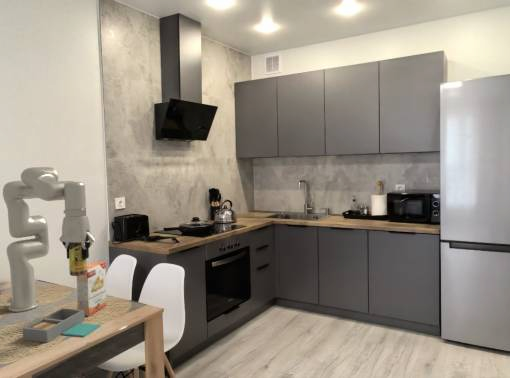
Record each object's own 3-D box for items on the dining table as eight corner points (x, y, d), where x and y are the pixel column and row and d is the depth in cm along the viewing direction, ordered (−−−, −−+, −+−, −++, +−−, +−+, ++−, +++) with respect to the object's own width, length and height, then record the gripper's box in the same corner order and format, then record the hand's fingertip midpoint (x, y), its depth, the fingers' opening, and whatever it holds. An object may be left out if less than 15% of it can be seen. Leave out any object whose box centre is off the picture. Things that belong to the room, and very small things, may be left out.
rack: (23, 339, 149) (22, 328, 149) (62, 318, 170) (62, 308, 169) (47, 342, 147) (46, 330, 146) (84, 320, 167) (84, 310, 167)
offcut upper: (32, 332, 151) (31, 327, 151) (43, 327, 156) (43, 322, 156) (46, 335, 149) (45, 329, 149) (57, 329, 154) (57, 324, 153)
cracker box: (89, 316, 171) (87, 269, 170) (77, 315, 172) (75, 269, 171) (107, 305, 185) (106, 261, 184) (96, 304, 186) (94, 261, 185)
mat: (62, 334, 153) (62, 333, 153) (79, 324, 163) (79, 323, 163) (84, 337, 151) (84, 335, 151) (100, 326, 161) (100, 325, 161)
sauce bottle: (75, 277, 151) (73, 226, 150) (66, 275, 154) (63, 225, 153) (90, 273, 157) (88, 224, 155) (81, 271, 160) (79, 223, 159)
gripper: (50, 214, 152) (52, 259, 154) (88, 214, 148) (90, 261, 149) (63, 211, 160) (66, 255, 161) (101, 212, 155) (102, 257, 157)
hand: (77, 257), depth 155 cm, fingers closed on sauce bottle, 6 cm apart
